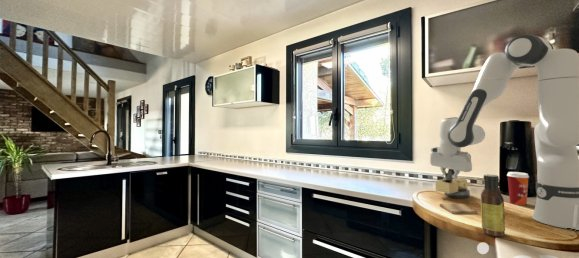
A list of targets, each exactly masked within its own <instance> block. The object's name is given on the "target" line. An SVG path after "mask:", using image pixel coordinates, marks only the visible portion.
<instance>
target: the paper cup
mask: <svg viewBox="0 0 579 258" xmlns="http://www.w3.org/2000/svg"><path fill="white" fill-rule="evenodd" d="M506 177H507V184H508V196H509V203H510V204H512V205H515V206H527V201H528V189H529V178H530V176H529V174H528V173H526V172H519V171H508V172H507V174H506Z"/></svg>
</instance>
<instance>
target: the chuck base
mask: <svg viewBox="0 0 579 258" xmlns="http://www.w3.org/2000/svg"><path fill="white" fill-rule="evenodd" d="M443 193H444V196H446V197H450V198H455V199H469V198H470V197H471V191H470V189H468V188H467V191H458V192H455V193H450V194H449V193H445V192H443Z"/></svg>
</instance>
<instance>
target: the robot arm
mask: <svg viewBox="0 0 579 258" xmlns="http://www.w3.org/2000/svg"><path fill="white" fill-rule="evenodd" d="M529 68H531V69H532V68H535V69H536V70H537V99H536V100H537V101H536V103H537V108H538V116H539V117H538V118H539V119H538V120H539V122H537V124H536V125H535V127H534V131H533V132H534V133H533V135H534V145H535V156H536V169H537V170H536V171H537V173H536V176H537V177H536V179H537V181H536V182H535V192H536V198H535V204H534V205H535V206H534V210H533V213H532V215H531V217H532V219H533V220H534V221H537V222H538V223H541V224H546V225H548V226H551V227H557V228H562V229H567V228H572V229H577V230H579V154H578V148H577V146H578V145H579V54H578V52H577V51H576V50H574V49H572V48H555V49H554V46H553V45H552V43H550V42H549V41H547V40H546V39H545V38H543V37H541V36H538V35H536V34H532V33H531V34H529V33H528V34H526V33H524V34H520V35H516V36H515V37H513V38H512V39H511V40H510V41H508V42H507V44H506V45H505V48H504V52H495V53H492V54H490V55H489V56H488V57H487V59H486V60H485V61H484V63H483V65H482V67H481V68H480V71H479V73H478V74H477V79H476V80H475V83H474V85H473V88H472V90H471V92H470V93H469V96H468V97H467V100H466V101H465V103H464V105H463V108H462V109H461V112H460V114H459V115H458V117H456V116H455V117H448V118H444V119H442V120H441V122H440V126H439V137H440V141H439V145H438V146H435V147H431V148H430V152H431V153H430V158H429V162H430V165H431V166H433V167H439V168H440V171H441V173H442V176H443V177H444V178H446V176H447V173H448V172H447V171H446V170H447V169H448V170H449V169H453V170H454V172H455V173H454V175H452V178H453V179H457V178H458V175H459V174H460V172H464V173H470V172H472V170H473V163H472V156H471V154H470V153H469V152H468V151H462V149H461V148H465V147H468V146H474V145H478V144H479V143H481V142H483V141H484V140H485V138H486V132H485V130H484V128H483V127H482V126H480V125H477V124H475V123H476V122H477V119H478V117H479V115H480V114H481V111H482V110H483V109H484V107H485V106H487V105H488V104H489V103H491V102H492V101H494V100H496V99H498V98H499V97H501V96H502V95H503V93H504V91H505V90H506V88H507V87H508V84H509V82H510V79H511V78H512V75H513V74H514V72H515V71H516V70H517V69H529ZM572 229H571V230H572Z"/></svg>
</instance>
